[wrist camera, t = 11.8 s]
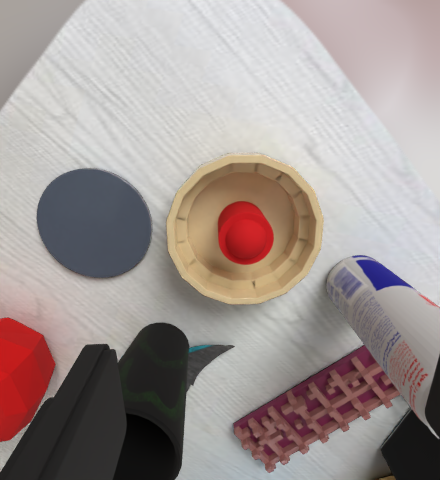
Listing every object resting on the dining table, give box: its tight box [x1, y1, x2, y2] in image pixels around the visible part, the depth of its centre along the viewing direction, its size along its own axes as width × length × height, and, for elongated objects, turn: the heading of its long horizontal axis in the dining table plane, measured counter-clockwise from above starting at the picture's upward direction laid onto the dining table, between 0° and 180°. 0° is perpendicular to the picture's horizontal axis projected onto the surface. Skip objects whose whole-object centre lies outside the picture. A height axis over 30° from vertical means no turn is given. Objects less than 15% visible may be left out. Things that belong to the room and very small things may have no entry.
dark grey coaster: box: [37, 168, 152, 278], centre depth 27 cm, size 10×10×1 cm
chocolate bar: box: [234, 345, 400, 473], centre depth 33 cm, size 7×19×2 cm, turn 127°
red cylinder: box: [218, 201, 274, 265], centre depth 25 cm, size 4×4×6 cm
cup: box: [113, 323, 189, 480], centre depth 26 cm, size 8×8×12 cm
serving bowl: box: [166, 153, 324, 305], centre depth 26 cm, size 12×12×4 cm
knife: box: [186, 345, 235, 392], centre depth 34 cm, size 24×1×5 cm
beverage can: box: [326, 255, 440, 438], centre depth 23 cm, size 6×6×15 cm
